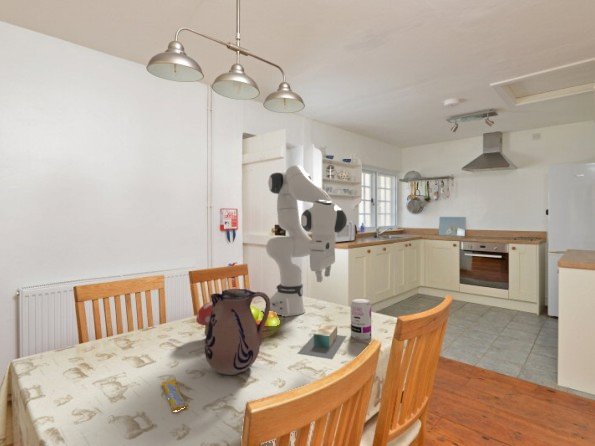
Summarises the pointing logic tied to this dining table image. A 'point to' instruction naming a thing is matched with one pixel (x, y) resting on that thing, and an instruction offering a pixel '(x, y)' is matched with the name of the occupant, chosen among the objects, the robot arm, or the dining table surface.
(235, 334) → the ceramic pitcher
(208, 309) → the decorative mushroom
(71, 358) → the dining table surface
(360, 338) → the supplement can
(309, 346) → the mat
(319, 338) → the block
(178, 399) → the candy bar
